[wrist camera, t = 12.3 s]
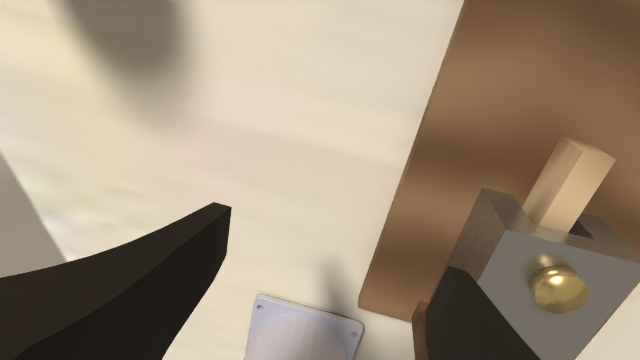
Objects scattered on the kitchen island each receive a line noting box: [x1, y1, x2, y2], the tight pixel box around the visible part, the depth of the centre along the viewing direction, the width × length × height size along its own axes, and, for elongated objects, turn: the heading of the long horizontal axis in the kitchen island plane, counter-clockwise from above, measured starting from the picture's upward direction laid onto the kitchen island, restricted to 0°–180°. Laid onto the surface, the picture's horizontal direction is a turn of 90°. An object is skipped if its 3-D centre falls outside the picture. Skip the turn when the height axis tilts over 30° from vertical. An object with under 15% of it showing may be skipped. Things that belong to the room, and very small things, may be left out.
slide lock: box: [430, 187, 640, 360], centre depth 18 cm, size 8×6×5 cm
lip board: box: [358, 0, 640, 360], centre depth 17 cm, size 22×14×4 cm, turn 168°
